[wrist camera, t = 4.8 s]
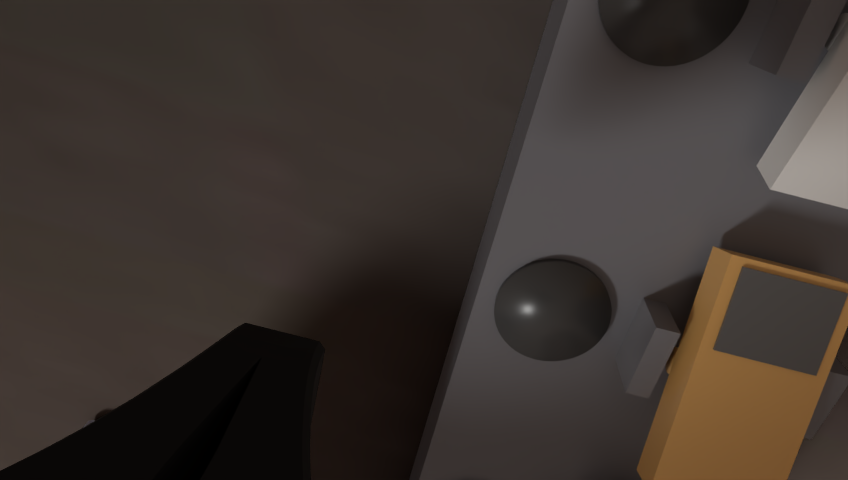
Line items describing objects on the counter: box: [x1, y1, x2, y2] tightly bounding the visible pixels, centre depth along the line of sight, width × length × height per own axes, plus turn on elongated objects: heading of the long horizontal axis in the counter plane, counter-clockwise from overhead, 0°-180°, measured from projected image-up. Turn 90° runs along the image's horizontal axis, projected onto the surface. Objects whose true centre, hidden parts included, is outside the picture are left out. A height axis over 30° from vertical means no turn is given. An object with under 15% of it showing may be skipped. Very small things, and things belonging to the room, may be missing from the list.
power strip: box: [409, 0, 848, 480], centre depth 17 cm, size 26×9×4 cm, turn 167°
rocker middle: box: [636, 246, 848, 480], centre depth 15 cm, size 6×3×2 cm, turn 167°
